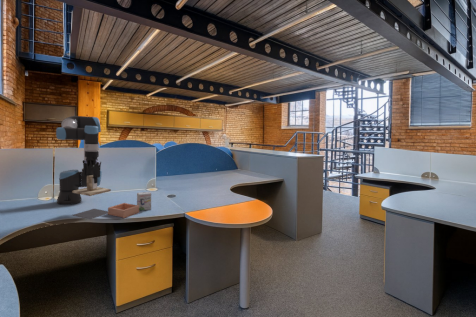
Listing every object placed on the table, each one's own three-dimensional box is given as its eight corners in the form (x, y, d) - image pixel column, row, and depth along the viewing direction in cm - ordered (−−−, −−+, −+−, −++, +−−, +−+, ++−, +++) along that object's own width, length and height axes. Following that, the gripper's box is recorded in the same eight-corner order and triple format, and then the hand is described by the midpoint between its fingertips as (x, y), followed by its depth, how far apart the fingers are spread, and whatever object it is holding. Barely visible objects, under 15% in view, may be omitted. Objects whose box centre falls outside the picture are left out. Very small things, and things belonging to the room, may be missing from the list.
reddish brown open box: (108, 215, 162) (108, 207, 161) (124, 210, 174) (124, 202, 173) (123, 218, 157) (123, 210, 157) (139, 212, 169) (139, 205, 169)
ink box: (149, 207, 182) (149, 191, 180) (151, 209, 177) (151, 193, 176) (136, 209, 176) (136, 192, 175) (138, 211, 172) (138, 194, 171)
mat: (71, 216, 157) (71, 215, 157) (94, 209, 172) (94, 208, 172) (89, 220, 152) (89, 219, 151) (112, 213, 166) (112, 212, 166)
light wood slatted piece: (72, 192, 157) (72, 176, 155) (94, 188, 170) (93, 173, 169) (89, 196, 151) (89, 179, 150) (110, 191, 165) (110, 175, 164)
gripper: (76, 150, 158) (76, 187, 160) (96, 152, 152) (96, 190, 154) (87, 149, 165) (87, 184, 167) (107, 151, 158) (107, 188, 161)
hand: (92, 187), depth 161 cm, fingers closed on light wood slatted piece, 4 cm apart
